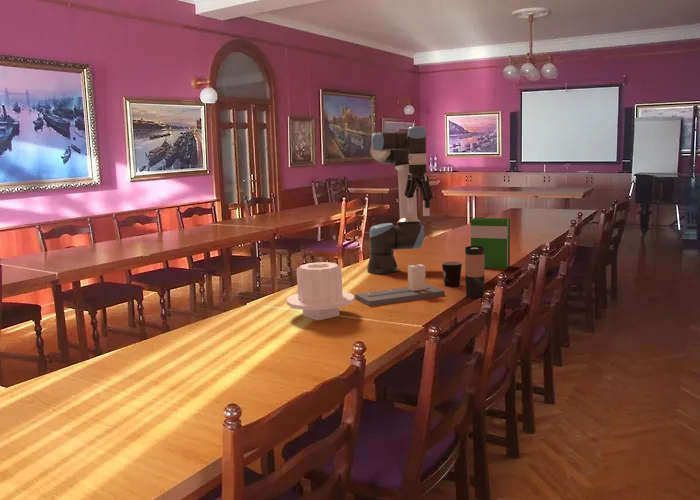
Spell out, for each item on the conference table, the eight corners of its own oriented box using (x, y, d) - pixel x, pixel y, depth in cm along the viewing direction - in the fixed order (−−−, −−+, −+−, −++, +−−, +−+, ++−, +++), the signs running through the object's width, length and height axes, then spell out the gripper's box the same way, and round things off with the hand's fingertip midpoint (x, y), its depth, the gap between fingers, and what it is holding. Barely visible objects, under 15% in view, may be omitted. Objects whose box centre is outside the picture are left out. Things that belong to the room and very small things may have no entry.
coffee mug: (461, 287, 267) (461, 265, 265) (441, 287, 268) (441, 265, 267) (462, 281, 278) (462, 260, 276) (443, 281, 280) (442, 260, 278)
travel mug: (485, 294, 254) (485, 246, 251) (483, 298, 247) (483, 249, 244) (466, 293, 257) (466, 245, 253) (463, 297, 250) (463, 248, 246)
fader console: (355, 298, 255) (354, 293, 254) (427, 288, 267) (427, 283, 267) (369, 306, 242) (368, 300, 241) (444, 295, 255) (444, 290, 254)
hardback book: (509, 266, 308) (510, 218, 304) (506, 269, 302) (507, 220, 298) (474, 264, 316) (474, 217, 312) (471, 267, 309) (470, 219, 305)
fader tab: (408, 289, 258) (407, 265, 256) (420, 287, 260) (420, 263, 258) (412, 291, 254) (412, 266, 252) (425, 289, 256) (425, 265, 255)
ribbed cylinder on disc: (275, 315, 234) (272, 266, 231) (329, 303, 248) (326, 257, 245) (312, 329, 214) (309, 275, 211) (368, 315, 229) (366, 265, 226)
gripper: (396, 163, 270) (397, 212, 274) (424, 165, 247) (425, 217, 251) (411, 162, 273) (412, 210, 276) (440, 164, 250) (441, 216, 254)
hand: (418, 214), depth 264 cm, fingers open, 13 cm apart
